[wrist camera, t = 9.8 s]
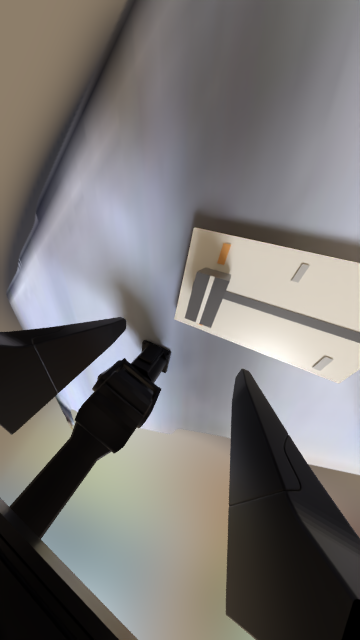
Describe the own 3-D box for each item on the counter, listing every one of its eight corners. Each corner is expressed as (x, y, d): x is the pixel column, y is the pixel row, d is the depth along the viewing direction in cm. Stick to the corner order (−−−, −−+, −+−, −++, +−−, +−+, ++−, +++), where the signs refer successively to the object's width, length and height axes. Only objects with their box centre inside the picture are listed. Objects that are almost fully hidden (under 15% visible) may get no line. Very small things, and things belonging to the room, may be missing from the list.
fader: (215, 313, 17) (210, 328, 14) (194, 305, 18) (184, 318, 14) (231, 274, 14) (229, 281, 11) (205, 267, 15) (196, 271, 12)
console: (329, 371, 17) (339, 384, 16) (179, 314, 22) (173, 319, 20) (440, 282, 11) (478, 288, 9) (198, 229, 16) (193, 227, 14)
